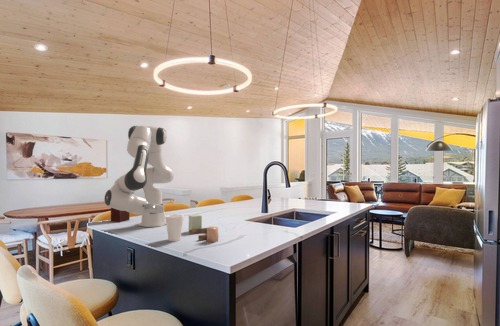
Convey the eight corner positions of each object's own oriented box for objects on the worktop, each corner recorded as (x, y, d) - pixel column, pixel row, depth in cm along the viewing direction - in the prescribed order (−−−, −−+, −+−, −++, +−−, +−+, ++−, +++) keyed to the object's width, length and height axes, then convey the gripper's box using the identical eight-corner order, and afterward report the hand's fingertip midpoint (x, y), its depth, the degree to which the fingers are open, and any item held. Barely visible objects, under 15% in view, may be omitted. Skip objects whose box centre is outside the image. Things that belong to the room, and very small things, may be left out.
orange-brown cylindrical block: (206, 239, 151) (206, 226, 151) (217, 239, 153) (217, 226, 153) (207, 242, 145) (207, 229, 146) (218, 242, 147) (219, 228, 147)
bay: (199, 240, 150) (199, 235, 150) (189, 234, 164) (189, 229, 164) (218, 237, 155) (218, 233, 155) (206, 231, 169) (207, 227, 169)
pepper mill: (117, 218, 209) (118, 181, 209) (129, 219, 205) (130, 181, 205) (108, 221, 201) (108, 182, 201) (120, 222, 197) (120, 182, 197)
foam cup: (178, 242, 145) (178, 217, 146) (162, 241, 147) (162, 216, 147) (186, 238, 155) (186, 214, 155) (170, 237, 157) (171, 213, 157)
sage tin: (188, 231, 170) (188, 215, 171) (197, 230, 174) (198, 214, 174) (191, 233, 165) (192, 216, 165) (201, 232, 168) (201, 215, 169)
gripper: (150, 199, 134) (174, 206, 144) (131, 199, 148) (154, 205, 157) (146, 212, 132) (171, 218, 142) (127, 211, 146) (151, 217, 155)
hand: (162, 211), depth 150 cm, fingers closed
